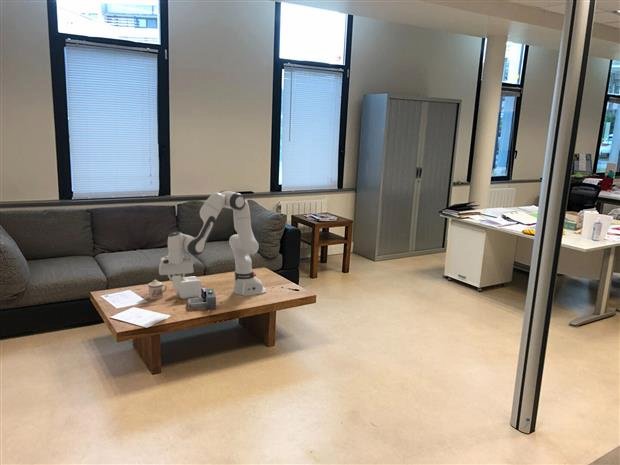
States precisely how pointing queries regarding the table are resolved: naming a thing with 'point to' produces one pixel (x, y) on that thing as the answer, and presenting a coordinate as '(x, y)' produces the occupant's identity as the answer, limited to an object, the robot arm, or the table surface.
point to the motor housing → (199, 304)
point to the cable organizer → (189, 287)
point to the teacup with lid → (156, 289)
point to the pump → (176, 280)
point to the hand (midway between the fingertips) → (176, 280)
